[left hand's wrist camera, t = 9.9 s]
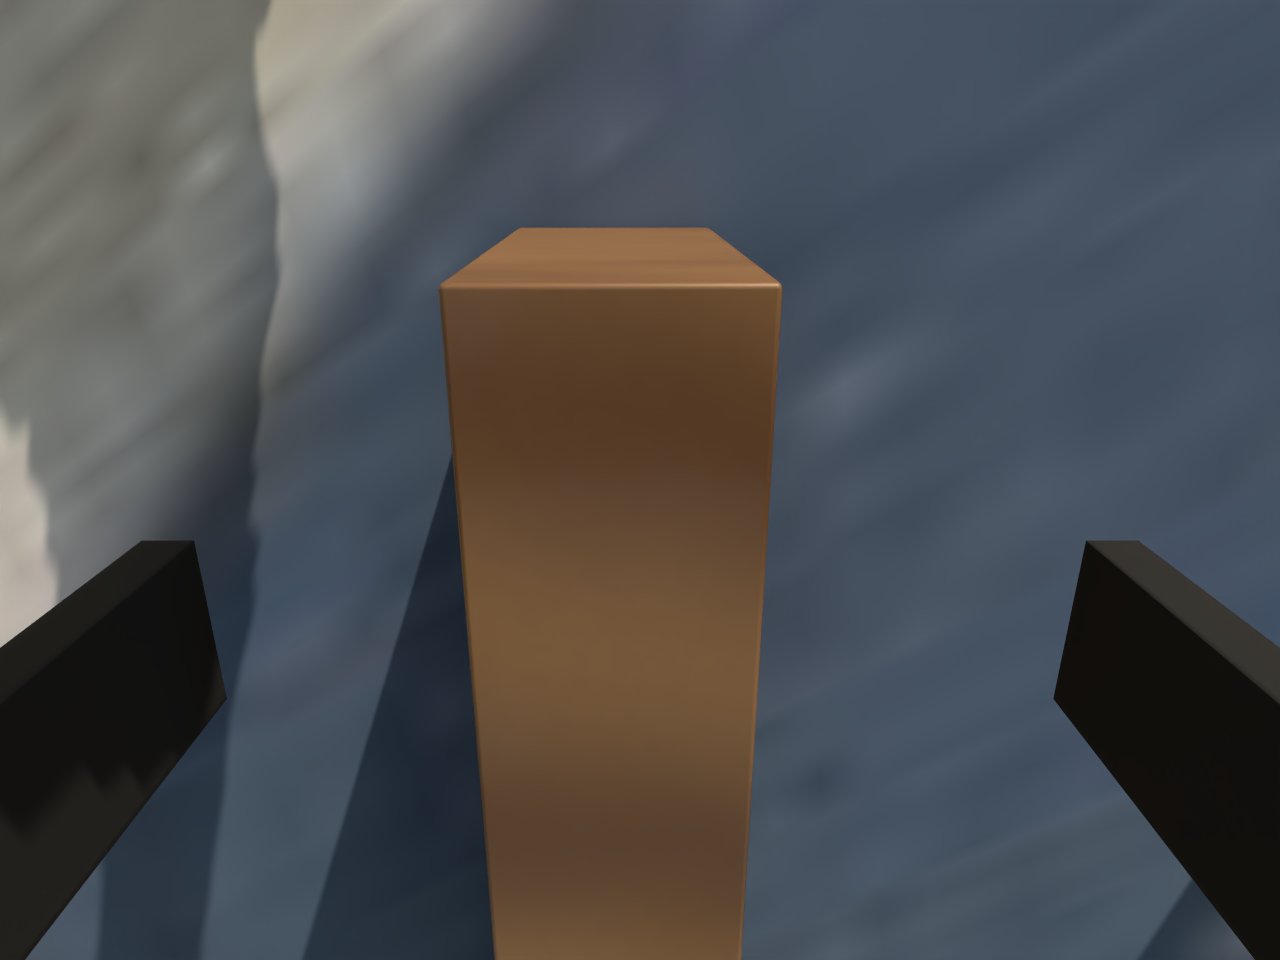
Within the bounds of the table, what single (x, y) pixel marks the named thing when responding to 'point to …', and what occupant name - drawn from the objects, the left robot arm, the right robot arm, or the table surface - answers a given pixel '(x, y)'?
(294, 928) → the table surface
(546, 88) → the table surface
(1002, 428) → the table surface
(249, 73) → the table surface
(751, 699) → the bar
